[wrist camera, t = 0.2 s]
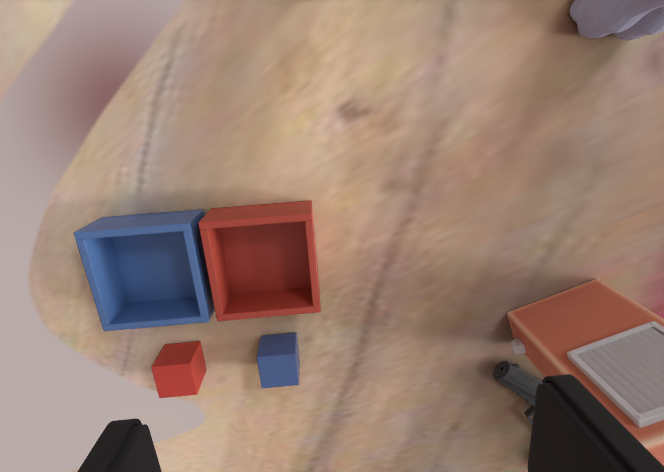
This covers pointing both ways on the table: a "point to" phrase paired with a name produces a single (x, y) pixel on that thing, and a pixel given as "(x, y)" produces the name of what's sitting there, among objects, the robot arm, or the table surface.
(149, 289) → the blue bin
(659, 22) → the toy
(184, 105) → the table surface
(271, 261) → the red bin
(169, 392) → the red block
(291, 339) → the blue block
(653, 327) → the control panel
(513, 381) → the handgun
